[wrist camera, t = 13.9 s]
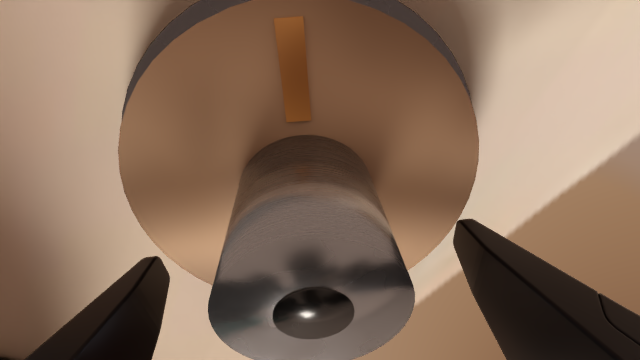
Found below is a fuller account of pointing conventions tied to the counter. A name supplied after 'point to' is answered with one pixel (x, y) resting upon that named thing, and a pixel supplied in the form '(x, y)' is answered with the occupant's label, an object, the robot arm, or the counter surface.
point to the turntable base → (214, 3)
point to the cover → (308, 258)
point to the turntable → (295, 120)
